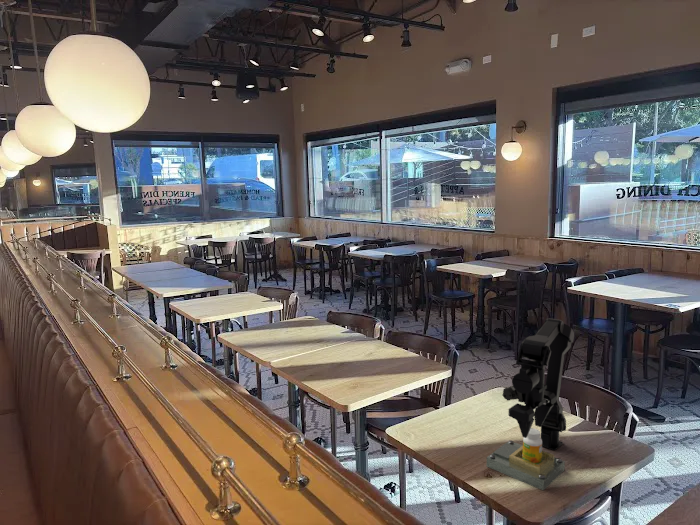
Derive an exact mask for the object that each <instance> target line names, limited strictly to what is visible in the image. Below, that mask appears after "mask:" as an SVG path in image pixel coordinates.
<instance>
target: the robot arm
mask: <svg viewBox="0 0 700 525" xmlns="http://www.w3.org/2000/svg"><path fill="white" fill-rule="evenodd" d="M574 339H575V331H574V330H573V328H572V327H571V326H570V325H568V324H566V323H564V321H563V320H561V319H557V318H549V317H548V318H545V321H544V324H543V325H542V326H541V328H540V329H538V331H537V333H536V334H534V335H529V336H528V337H527V336H526V337H525V338H524V339H523V341H521V343H520V346H519V349H518V354H517V357H516V363H515V365H519V366H520V368H519V370H518V371H517V373H516V374H514V376H513V378H512V380H511V385H510V386H508V387H505V388H503V390H502V396H503V398H504V399H505V400H506V401H511V400H518V402H519V403H515V404H513V405H512V406H511V407H509V408H508V413H507V414H508V416H509V417H510V418H512V419H514V420H516V422H517V424H518V426H519V430H520V433H521V437H522V438H527V436H528V433H529V431H530V429H531V428H532V426H533V423H534V425H535V427H539V428H540V438H541V439H542V448H547V449H549V450H552V451H556V450H558V448H560V447H561V446H562V445H563V444H564V442H563V441H562V440H560V433H562V432H566V431H567V419H566V417H565V415H564V407H563V405H562V403H561V401H560V393H561V392H560V391H561V386H562V384H561V383H562V376H563V370H564V369H563V368H564V361H565V355H566V353H568V351H569V350H570V349H571V348H572V343H573V342H574V341H575V340H574ZM546 366H547V368H546ZM545 369H547V371H545ZM545 373H546V378H545ZM520 403H523V404H520Z"/></svg>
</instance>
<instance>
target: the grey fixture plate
mask: <svg viewBox="0 0 700 525" xmlns="http://www.w3.org/2000/svg"><path fill="white" fill-rule="evenodd" d="M522 455H523V444H520V443H517V442H514V441H513V440H508V441H507V442H505V443H504V444H502V445H500V447H498V448H496V450H494V451H493V452H492V453H490V454H489V455H488V456H486V464H485V465H486V466H485V467H487V468H489V469H492V470H494V471H496V472H498V473H501V474H504V475H506V476H508V477H511V478H513V479H515V480H518V481H520V482H522V483H523V484H527V485H530V486H532V487H534V488H536V489H538V490H541V491H545V490H546V488H548V487H550V485H551V484H552V483H553V482H554V481H555V480H556V479H557V478H558V477H559V476H560V475H561V474H562V473H564V471H565V467H566V466H565V465H566V464H565V463H566V461H565V460H563V459H562V458H559V457H555V454H553V453H551V452H547V451H544V450H542V460H541V463H540V464H539V465H537V464H534V463H531V462H529V461H526V460H524V459H522Z"/></svg>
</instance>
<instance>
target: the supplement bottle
mask: <svg viewBox="0 0 700 525" xmlns="http://www.w3.org/2000/svg"><path fill="white" fill-rule="evenodd" d="M522 445H523V455H522V459H524V460H526V461H529V462H531V463H534V464H537V465H539V464H540V463H541V460H542V451H543V446H542V439H541V430H539V429H538V428H534V427H533V428H532V427H531V429H530V431H529V433H528V436H527V438H524V437H522Z"/></svg>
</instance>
